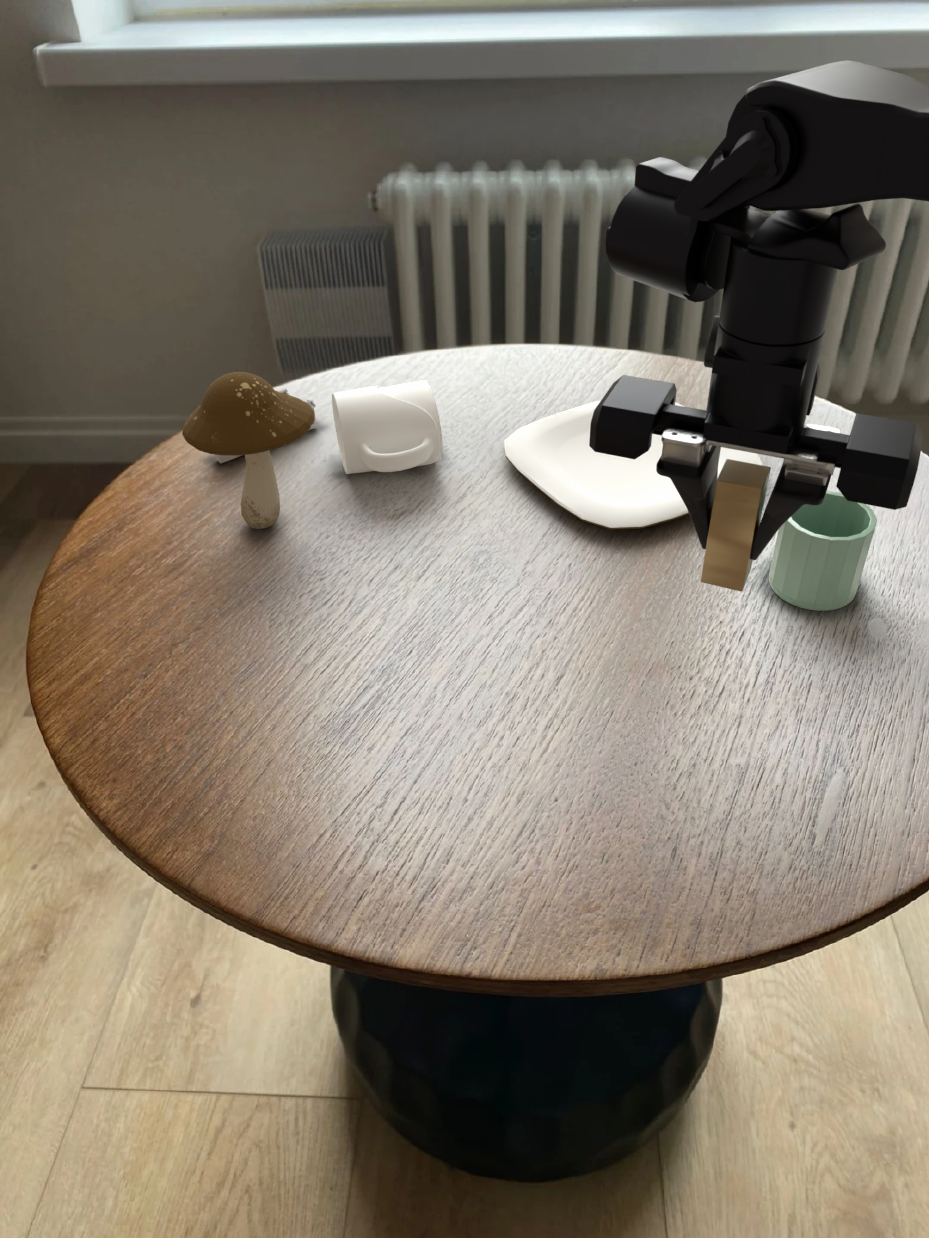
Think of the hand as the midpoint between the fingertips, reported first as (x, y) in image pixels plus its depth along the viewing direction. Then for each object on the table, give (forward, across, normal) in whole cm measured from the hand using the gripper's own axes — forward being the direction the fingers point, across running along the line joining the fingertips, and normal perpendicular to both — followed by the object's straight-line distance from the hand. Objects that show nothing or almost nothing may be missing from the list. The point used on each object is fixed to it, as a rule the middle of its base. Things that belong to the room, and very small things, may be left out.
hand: (730, 551), depth 64 cm
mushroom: (+13, +43, -6) cm, 45 cm away
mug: (+13, +36, -19) cm, 43 cm away
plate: (+13, +14, -28) cm, 34 cm away
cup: (+12, -5, -15) cm, 21 cm away
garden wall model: (+13, +51, -19) cm, 56 cm away
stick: (+2, 0, 0) cm, 2 cm away
